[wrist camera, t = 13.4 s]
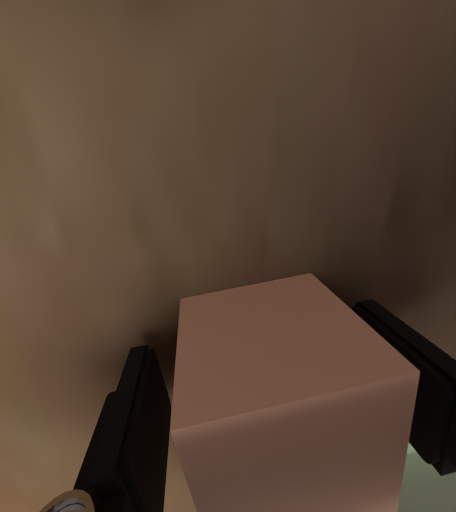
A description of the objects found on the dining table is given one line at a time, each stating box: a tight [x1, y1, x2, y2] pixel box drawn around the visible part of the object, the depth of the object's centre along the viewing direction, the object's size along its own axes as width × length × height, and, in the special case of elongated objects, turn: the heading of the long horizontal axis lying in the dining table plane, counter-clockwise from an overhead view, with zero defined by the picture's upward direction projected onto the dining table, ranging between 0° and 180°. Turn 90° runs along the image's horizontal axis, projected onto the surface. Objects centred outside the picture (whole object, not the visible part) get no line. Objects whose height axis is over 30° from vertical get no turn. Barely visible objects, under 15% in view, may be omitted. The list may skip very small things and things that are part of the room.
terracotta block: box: [170, 273, 420, 512], centre depth 8 cm, size 5×5×5 cm
